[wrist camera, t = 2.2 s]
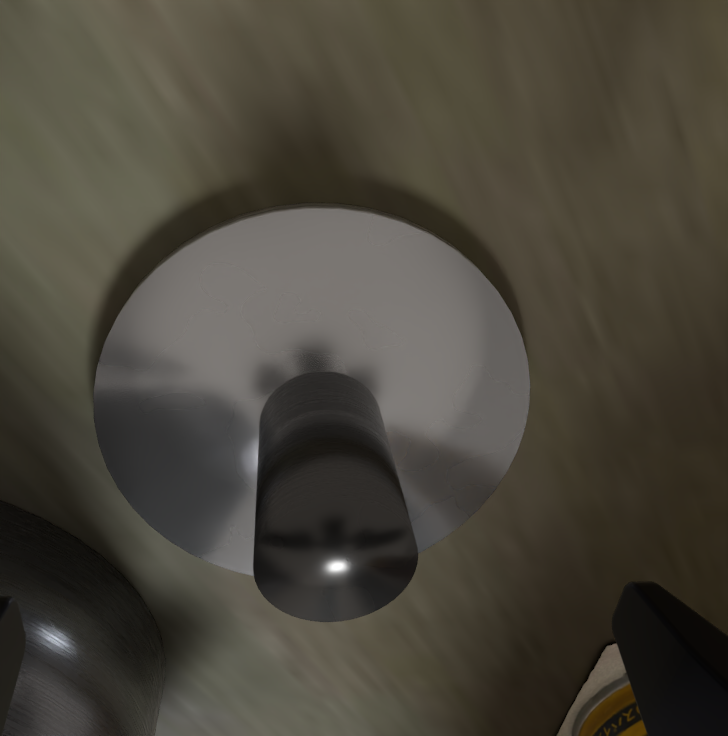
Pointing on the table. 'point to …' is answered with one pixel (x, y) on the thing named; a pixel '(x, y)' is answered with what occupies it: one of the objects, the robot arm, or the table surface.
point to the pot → (77, 637)
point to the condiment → (605, 702)
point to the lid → (312, 400)
